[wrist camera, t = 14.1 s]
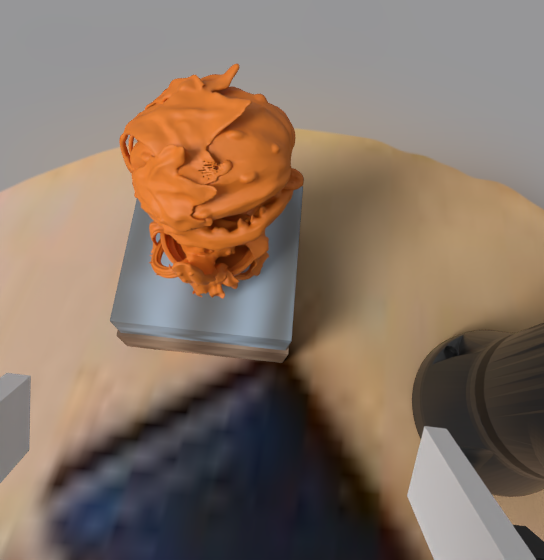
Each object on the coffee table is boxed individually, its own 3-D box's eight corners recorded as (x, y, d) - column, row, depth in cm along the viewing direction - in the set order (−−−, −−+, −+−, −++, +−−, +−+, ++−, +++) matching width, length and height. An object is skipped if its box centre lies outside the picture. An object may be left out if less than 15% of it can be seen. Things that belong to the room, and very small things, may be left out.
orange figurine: (271, 322, 37) (310, 219, 20) (137, 302, 36) (60, 178, 19) (287, 203, 40) (332, 32, 24) (166, 183, 40) (123, -7, 23)
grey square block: (293, 225, 49) (306, 184, 41) (282, 362, 44) (294, 344, 36) (155, 208, 48) (141, 162, 40) (127, 346, 43) (105, 324, 35)
